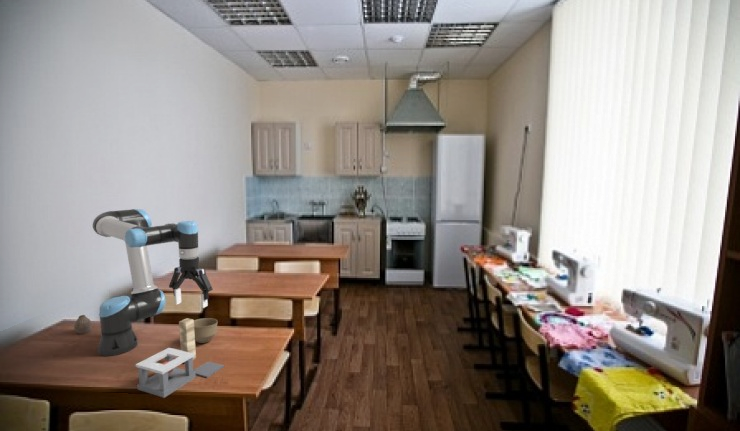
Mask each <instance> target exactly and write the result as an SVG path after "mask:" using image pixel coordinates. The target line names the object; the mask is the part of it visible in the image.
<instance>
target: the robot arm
mask: <svg viewBox="0 0 740 431" xmlns="http://www.w3.org/2000/svg"><path fill="white" fill-rule="evenodd" d="M92 228H93V231H94V232H95V233H96V234H97V235H98V236H102V237H105V238H111V237H113V238H116V239H119V240H122V241H124V243H125V244H124V245H125V250H126V255H127V260H128V265H129V271H130V276H131V282H132V287H133V288H132V289H133V290H131V292H130V296H127V295H121V296H115V297H111V298H110V299H107V300H105V301H103V302H102V303H101V304H100V305H99V313H98V316H99V321H100V331H101V332H100V333H101V336H100V339H99V342H98V347H97V354H99V356H103V357H104V356H105V357H108V356H116V355H120V354H124V353H127V352H130V351H131V350H133V349H135V348H136V347H137V346H138V341H139V340H138V337H137V336H136V334H135V332H134V330H133V325H132V324H133V323H135V322H137V321H142V320H144V319H147V318H149V317H154V316H157V315H159V314H161V313H162V312H163V311H164V309H165V306H166V296H165V294H164V292H163V290H161V289H159V287H158V286H157V285H155V284H154V278H153V272H152V267H151V263H150V262H151V261H150V256H149V251H148V246H153V245H159V244H166V243H172V242H173V243H174V242H175V243H178V244H177V245H178V257H179V260H178V262H179V266H177V267H174V269H173V274H172V276H171V280H170V283H169V285H168V288H170V289H172V290H173V297H174V305H176V306H177V305H179V304H182V290H181V285H182V284H183V282H184V281H185V280H188V279H189V280H192V281H194V282H195V283H196V285H197V286H198V289H200V290H201V293H200V295H201V296H200V297H201V300H200V301H201V309H205V308H206V307H208V305H209V303H208V300H209V297H210V296H209V292H212V291H213V286H212V284H211V282H210V279H209V278H208V276H207V274H206V269H205V268H202V269H199V266H200V257H199V255H200V254H199V253H200V252H199V229H198V224H197V221H195V220H182V221H179V222H178V223H174V222H173V223H165V224H164V225H155V226H152V219H151V217H150V214H148V213H147V211H146V210H144V209H138V208H137V209H136V208H135V209H134V208H133V209H132V208H131V209H123V210H109V211H105V212H102V213H100V214H99V215H97V216H96V217H95V218H94V219H93V221H92ZM180 274H181V275H180Z"/></svg>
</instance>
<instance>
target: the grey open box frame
mask: <svg viewBox="0 0 740 431" xmlns="http://www.w3.org/2000/svg"><path fill="white" fill-rule="evenodd" d="M194 356H195V355H194V354H193V353H189V352H185V351H181V349H177V348H171V347H167V348H165V349H163V350H161V351H159V352H157V353H155V354H154V355H151V356H149V357H147V358H145V359H143V360H142V361H140V362H138V363H135V368H137V369H138V382H139V383H137V385H136V387H137V390H138V391H142V392H145V393H147V394H151V395H155V396H157V397H160V398H163V399H165V398H166V397H168V396H169V395H171V394H172V393H175V392H176V391H177V390H179V389H180V388H182V387H183V386H186V385H187V384H188V383H189V382H192V381H193V380H194V379H196V376H197V375H196V373H194V372H193V370H194V360H193V357H194ZM162 359H164V362H165V361H170V362H168V363H167V364H165V365H164V364H161V363H160V362H159V361H161V360H162ZM183 363H184V369H183V368H179V367H178V366H180V365H182V364H183ZM171 369H173V371H172V372H170V373H169V377H168V371H169V370H171ZM148 371H149V372H153V373H155V374H153V375H151V376H150V377H149V376H148Z"/></svg>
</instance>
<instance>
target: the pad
mask: <svg viewBox="0 0 740 431" xmlns="http://www.w3.org/2000/svg"><path fill="white" fill-rule="evenodd" d="M224 367H225V365H224V364H220V363H217V362H213V361H206V362H205V363H203V364H201V365H200V366H197V367H196V368H195V369H194V368H193V372H194V373H196V376H199V377H204V378H206V379H208V378H209V377H210V376H212V375H215V373H217V372H218V371H220V370H222V369H223V368H224Z"/></svg>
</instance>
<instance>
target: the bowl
mask: <svg viewBox="0 0 740 431" xmlns="http://www.w3.org/2000/svg"><path fill="white" fill-rule="evenodd" d="M193 320H194V319H193ZM217 332H218V320H217V319H216V318H211V317H206V318H205V317H204V318H198V319H195V320H194V333H195V342H197V343H198V344H204V343H208V342H209V341H210V340H211V339H213V338H214V337H215V336H216V334H218V333H217Z"/></svg>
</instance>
